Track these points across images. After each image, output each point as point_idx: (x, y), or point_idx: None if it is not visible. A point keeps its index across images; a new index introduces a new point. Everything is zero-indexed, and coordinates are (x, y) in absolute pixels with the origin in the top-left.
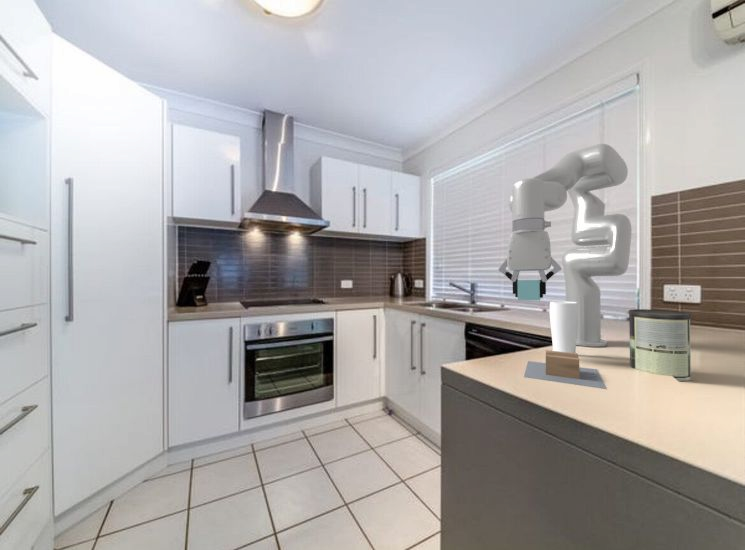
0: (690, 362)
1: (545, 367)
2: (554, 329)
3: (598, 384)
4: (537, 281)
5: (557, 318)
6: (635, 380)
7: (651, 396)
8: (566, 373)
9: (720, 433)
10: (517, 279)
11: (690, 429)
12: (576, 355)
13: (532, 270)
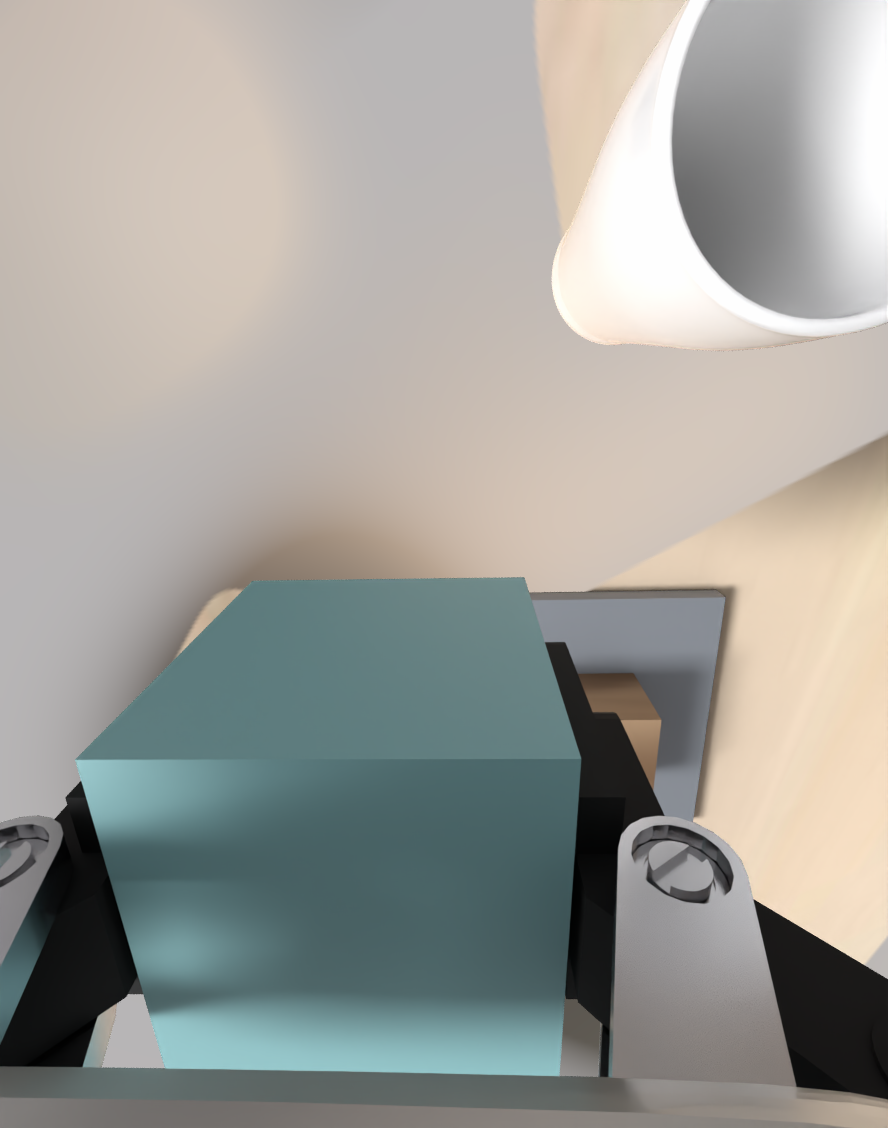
0: None
1: None
2: (601, 316)
3: (676, 799)
4: (521, 1060)
5: (659, 335)
6: (843, 612)
7: (816, 774)
8: None
9: (854, 942)
10: (91, 941)
11: None
12: (650, 763)
13: (357, 1104)
